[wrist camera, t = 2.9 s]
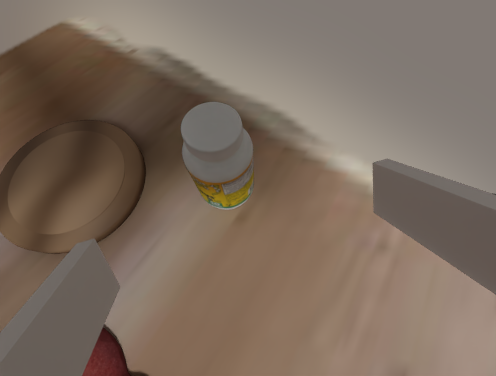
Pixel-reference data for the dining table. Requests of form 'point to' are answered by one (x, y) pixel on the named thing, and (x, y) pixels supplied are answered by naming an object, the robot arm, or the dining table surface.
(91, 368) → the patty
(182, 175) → the dining table surface
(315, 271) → the dining table surface
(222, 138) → the supplement bottle
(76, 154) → the plate
